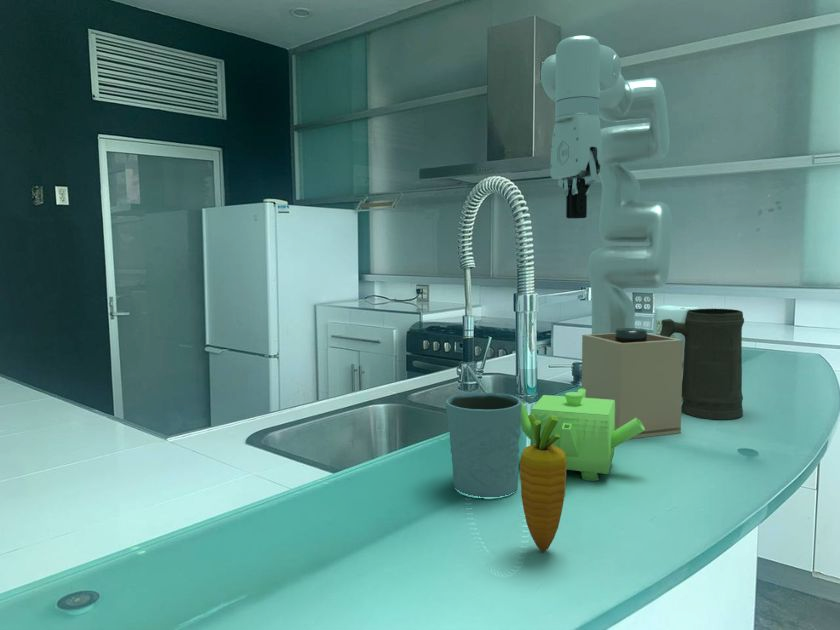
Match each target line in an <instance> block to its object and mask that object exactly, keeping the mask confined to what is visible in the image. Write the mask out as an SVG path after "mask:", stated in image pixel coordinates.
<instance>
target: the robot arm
mask: <svg viewBox="0 0 840 630" xmlns="http://www.w3.org/2000/svg"><path fill="white" fill-rule="evenodd" d="M540 82H541V85H542V88H543V90H544V92H545V93H546V95H547V96H548V97H549V98H550V100H552V101H553V102H554V103H555V115H554V116H555V124H554V126H553V127H554V128H553V131H552V139H551V147H550V148H551V149H550V165H549V166H550V178H551V179H552V180H558V181H557V186H558V187H560V188H563V191H564V195H565V197H566V198H565V200H566V204H565V208H566V209H565V211H566V213H565V215H566V216H565V217H566V218H567V219H586V218H587V217H588V216H587V214H588V213H587V209H588V208H587V207H588V205H587V204H588V202H587V201H588V195H589V193H590V186H591V185H592V184H593V183H595V182H597V181H598V177H599V179H600V183H601V200H600V201H601V202H600V211H599V220H598V222H599V223H598V224H599V225H598V233H599V236H600V239H602V241H604V242H605V243H608V244H618V245H613V246H612V245H610V246H603V247H599V248H596V249H595V250H593V251H592V252H591V254H590V256H589V257H588V261H587V262H588V263H587V267H588V268H587V269H588V275H589V276H588V277H589V283H590V289H591V292H590V293H591V334H605V333H615V331H616V329H619V328H635V316H636V315H635V314H636V312H635V311H636V310H635V306H634V303H633V301H632V299H631V298H630V297H629V295H627V293H626V292H625V291H624V289H659V288H662V287H664V286H665V285H666V284H667V281H668V278H669V274H670V273H669V272H670V262H671V261H670V260H671V246H672V245H671V243H672V224H673V222H672V214H671V213H672V212H671V209H670V207H669V206H668V204H666V203H665V202H663V201H656V200H655V201H653V200H652V201H640V191H641V190H640V189H641V188H640V187H641V185H640V182H639V181H638V179H637V178H636V176H635V175H634V174H633V173H632V172H631V170H629V169H628V168H627V167H626V166H624V164H623V163H638V162H651V161H658V160H661V159H663V158H664V157H666V155H667V154H668V153H669V149H670V142H671V139H670V127H669V126H670V125H669V119H668V118H669V116H668V107H667V106H668V105H667V99H666V94H665V91H664V90H665V89H664V87H663V84H662V82H661V81H660V80H659V79H658V78H656V77H645V78H638V79H637V78H636V79H629V80H625V78H624V76H623V75H622V62H621V58H620V55H618V54H617V53H616V51H615V50H614V49H613V48H612V47H609V46H607V45H603V44H600V42H599V41H598V39H597V38H596V37H593V36H590V35H575V36H569V37H566V38H563V39H562V40H561V41H560V42H559V43H558V44H557V46H556V49H555V54H551V55H550V56H548V57H546V58H545V60H544V61H543V63H542V65H541V69H540ZM600 119H602V120H603V121H606V122H609V123H617V122H618V123H619V122H620V123H621V122H628V121H636V120H637V121H638V120H646V119H647V120H648V121H649V122H642V123H635V124H634V123H633V124H623V125H614V126H607V127H604V128H603V127H602V128H601V122H600V121H601V120H600ZM620 244H621V245H620ZM622 244H629V245H622ZM630 244H646V245H630Z"/></svg>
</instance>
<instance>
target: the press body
mask: <svg viewBox="0 0 840 630" xmlns="http://www.w3.org/2000/svg"><path fill="white" fill-rule="evenodd" d="M581 336H582V337H581V342H582V343H581V347H582V349H581V364H582V365H581V389H585V390H586V395H585V398H596V399H609V400H615V430H617V429H618V428H620V427H621V426H623V425H625V424H626V423H628V422H630V421H631V420H633V419H634V418H638V419H639V421H640V422H641V423H642V425H643V426H644V428H645V431H643V432H641V433H639V434H637V435H635V436H634V437H632V438H630V439H638V438H647V437H656V436H657V437H658V436H664V435H673V434H681V431H682V430H681V429H682V409H681V408H682V402H683V400H682V366H683V340H680V339H675V338H670V337H665V336H660V335H655V334H653V333H649V332H647V341H646V342H631V343H620V342H616V341H615V333H605V334H592V333H590V334H582V335H581ZM630 439H629V440H630Z"/></svg>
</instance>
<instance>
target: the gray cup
mask: <svg viewBox="0 0 840 630" xmlns="http://www.w3.org/2000/svg"><path fill="white" fill-rule="evenodd" d="M522 402H523V401H522V399H521V398H519V397H517V396H515V395H512V394H508V393H507V394H506V393H500V392H469V393H462V394H456V395H453V396H450V397H449V398H447V399H445V410H446V418H447V426H448V433H449V441H450V442H449V443H450V453H451V463H452V465H451V466H452V480H453V487H454V486H455V488H456V489H457V490H459V491H460V492H462V493H465V494H468V495H473V496H478V497H479V496H480V497H500V496H505V495H509V494H511V493H513V492H515V491H516V492H517V490H518V486H519V473H520V466H519V454H520V445H519V444H520V436H521V428H522V427H521V407H522ZM455 488H454V489H455ZM516 492H515V493H516Z"/></svg>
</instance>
